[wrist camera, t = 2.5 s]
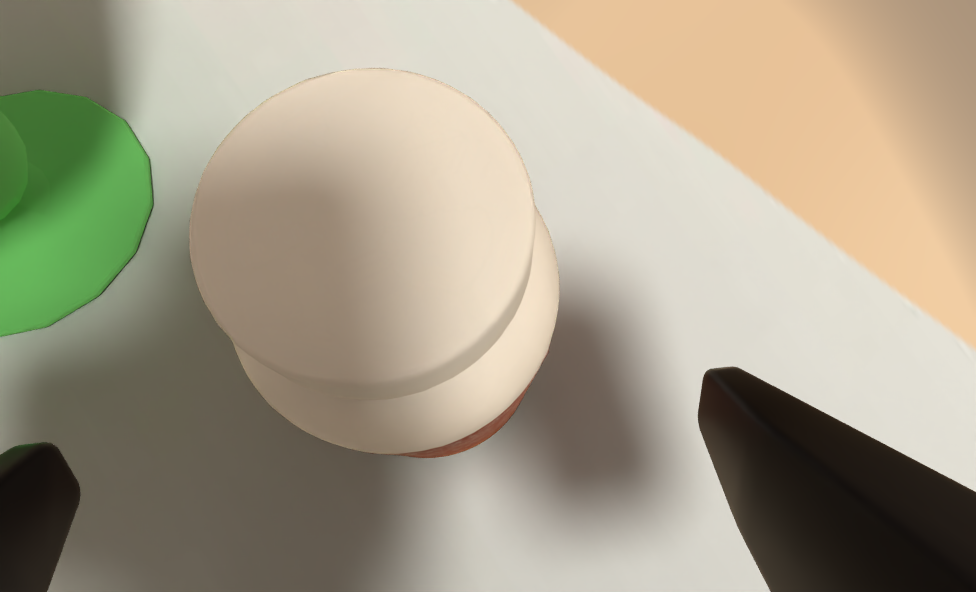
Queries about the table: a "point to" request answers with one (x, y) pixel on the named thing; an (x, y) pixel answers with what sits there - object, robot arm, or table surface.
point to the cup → (65, 204)
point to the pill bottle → (378, 262)
